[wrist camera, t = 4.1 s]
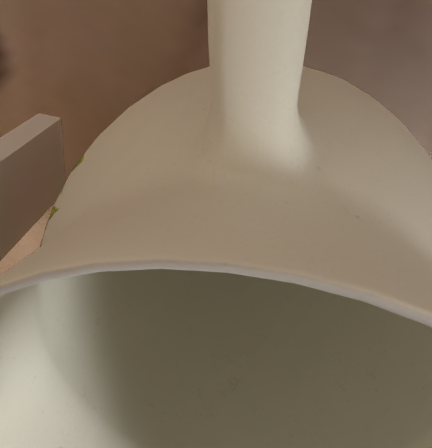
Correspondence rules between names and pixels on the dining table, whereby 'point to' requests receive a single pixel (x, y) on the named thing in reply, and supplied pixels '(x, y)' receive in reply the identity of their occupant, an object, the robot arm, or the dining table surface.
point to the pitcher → (231, 266)
